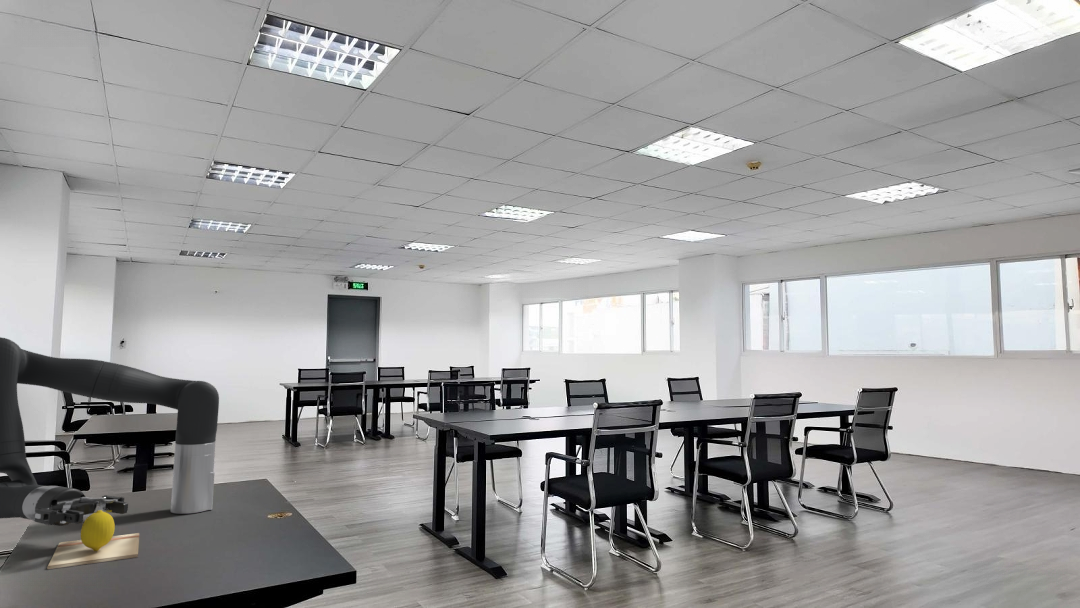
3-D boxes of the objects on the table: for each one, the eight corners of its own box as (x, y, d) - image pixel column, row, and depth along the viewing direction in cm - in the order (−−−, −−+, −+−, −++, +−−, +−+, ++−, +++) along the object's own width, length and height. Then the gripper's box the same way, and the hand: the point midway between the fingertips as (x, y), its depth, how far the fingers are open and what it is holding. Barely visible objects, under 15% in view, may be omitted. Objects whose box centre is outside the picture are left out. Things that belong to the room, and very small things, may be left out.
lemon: (95, 556, 118) (98, 514, 119) (71, 554, 119) (75, 512, 120) (119, 548, 123) (122, 507, 124) (97, 546, 124) (100, 506, 125)
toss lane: (139, 534, 134) (139, 532, 134) (137, 557, 119) (137, 554, 119) (59, 544, 127) (59, 541, 127) (47, 569, 112) (47, 566, 112)
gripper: (16, 493, 121) (67, 501, 115) (91, 481, 134) (140, 487, 128) (12, 531, 121) (63, 541, 115) (88, 515, 134) (138, 523, 128)
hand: (104, 513), depth 121 cm, fingers open, 8 cm apart
